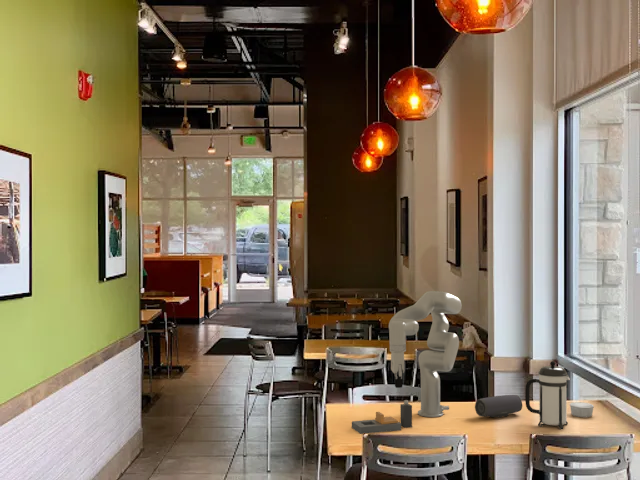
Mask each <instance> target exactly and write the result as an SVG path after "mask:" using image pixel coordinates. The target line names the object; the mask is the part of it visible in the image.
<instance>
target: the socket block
mask: <svg viewBox="0 0 640 480" xmlns="http://www.w3.org/2000/svg"><path fill="white" fill-rule="evenodd" d="M351 429H353V430H354V431H355V432H356V433H358V434H360V435H364V434H363V433H366V434H375V433H376V434H377V433H385V432H395V431H402V426H401V422H399V421H398V423H390V424H381V423H379V422H377V421H376V420H375V418H374V419H364V420H354V421H353V420H352V421H351Z"/></svg>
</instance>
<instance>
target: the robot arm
mask: <svg viewBox="0 0 640 480" xmlns="http://www.w3.org/2000/svg"><path fill="white" fill-rule="evenodd" d="M462 307H463V306H462V301H461V299H460V298H459V297H457V296H455V295H453V294H451V293H449V292H447V291H437V290H436V291H435V290H430V291H428V290H427V291H426V292H425V293H423V294H422V295H421V296H420V297H419V299H418V300H417V301H416V302H415V303H414V304H413V305H410V306H408V307H405V308H402V309H401V310H398V311H397V312H396V313H395V314H394V315H393V316H392V317H391V319H390V320H389V323H388V331H389V352H390V371H392V373H393V374H394V387H395V388H396V389H397V388H399V389H401V388H403V374H404V373H405V353H406V352H407V343H406V342H407V341H406V340H407V339H406V336H415V335H416V334H417V333H418V331H419V328H420V326H419V323H418V322H417V321H422V320H424V319H426V318H427V317H428V316H429V315H430V314H431V315H430V316H431V317H432V322H431V323H432V324H431V326H430V331H429V333H428V336H427V337H428V338H427V340H426V345H427V347H428V349H429V350H427V349H426V350H423V351H421V352H420V353H419V355H418V365H419V369H420V370H419V371H420V410H418V411H417V415H419V416H420V417H425V418H439V417H443V416H444V411H449V410H450V406H449V405H442V404H441V378H440V375H439V373H438V372H442V373H443V372H446V373H447V372H448V373H449V372H451V371H452V370H453V368H454V364H455V361H456V358H457V354H458V351H459V347H460V346H459V345H460V338H459V336H458V335H457V334H456V333H455V332H450V331H449V328H450V324H449V321H448V319H447V317H446V315H445V314H447V315H458V314H459V313H460V312H461V310H462ZM448 331H449V332H448Z"/></svg>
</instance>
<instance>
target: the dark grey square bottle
mask: <svg viewBox="0 0 640 480" xmlns="http://www.w3.org/2000/svg"><path fill="white" fill-rule="evenodd" d="M399 405H400V409H399V411H400V415H399V416H400V423H401V428H403V429H405V428H406V429H407V428H412V427H413V405H412V404H410V403H409V400H408V399H404V400H403V403H401V404H399Z"/></svg>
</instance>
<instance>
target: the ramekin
mask: <svg viewBox="0 0 640 480" xmlns="http://www.w3.org/2000/svg"><path fill="white" fill-rule="evenodd" d="M569 408H570V412H571V415H572V416H573V417H577V418H591V417H592V416H593V411H594V408H595V406H594V405H593V404H592V403H589V402H577V401H576V402H570V403H569Z"/></svg>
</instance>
